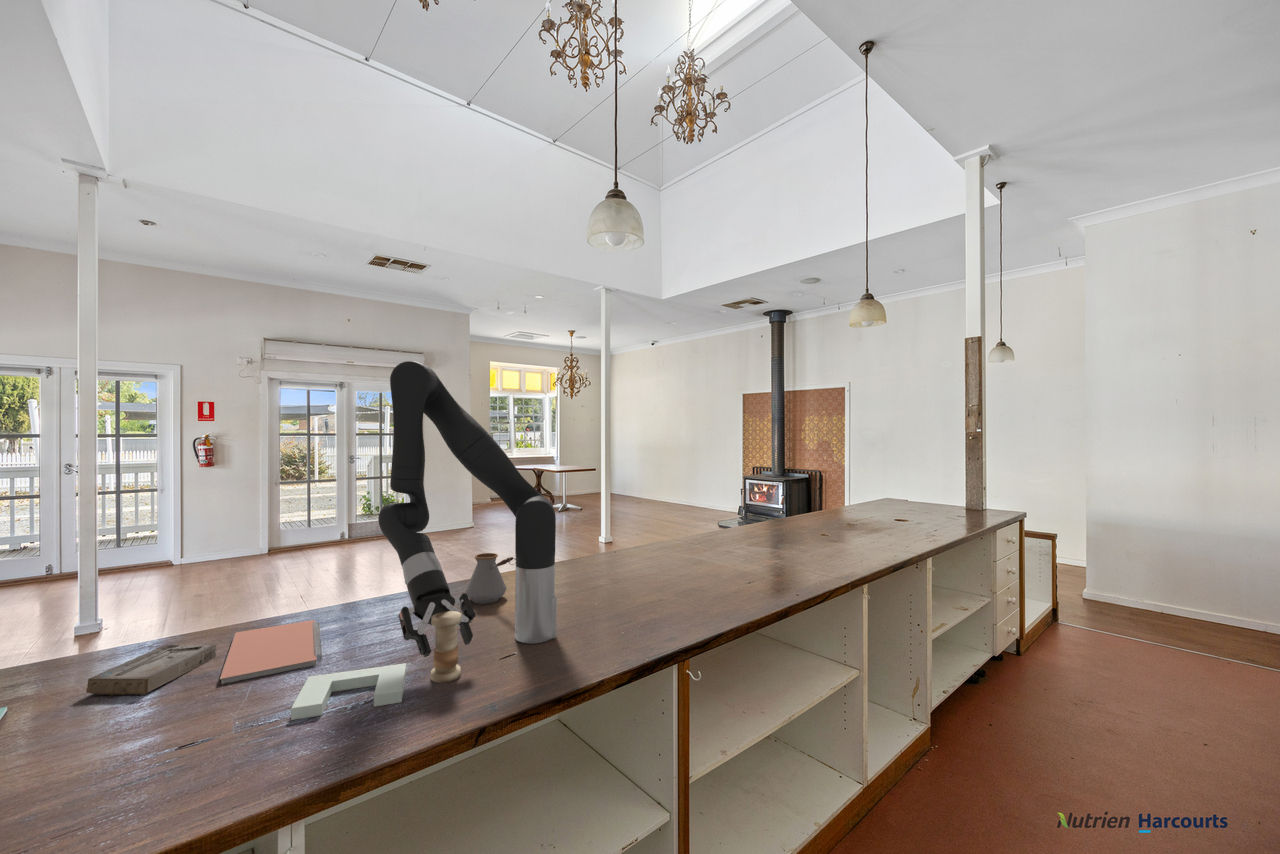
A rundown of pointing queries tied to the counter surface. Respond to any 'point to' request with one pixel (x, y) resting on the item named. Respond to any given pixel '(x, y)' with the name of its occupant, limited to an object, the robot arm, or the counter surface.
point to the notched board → (322, 686)
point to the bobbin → (445, 647)
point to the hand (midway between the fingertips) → (449, 648)
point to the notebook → (272, 650)
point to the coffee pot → (487, 579)
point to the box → (150, 669)
